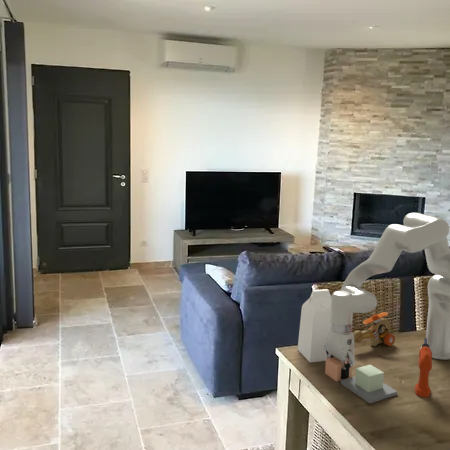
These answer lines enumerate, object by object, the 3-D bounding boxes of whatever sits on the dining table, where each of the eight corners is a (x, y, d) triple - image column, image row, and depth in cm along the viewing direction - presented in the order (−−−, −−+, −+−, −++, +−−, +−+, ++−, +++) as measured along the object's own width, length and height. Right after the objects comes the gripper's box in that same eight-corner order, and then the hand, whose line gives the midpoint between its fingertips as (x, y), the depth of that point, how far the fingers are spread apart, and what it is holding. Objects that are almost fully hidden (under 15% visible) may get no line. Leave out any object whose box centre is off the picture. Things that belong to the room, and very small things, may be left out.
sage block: (369, 379, 172) (370, 364, 171) (382, 388, 166) (384, 372, 165) (355, 383, 169) (356, 368, 168) (368, 392, 164) (369, 376, 162)
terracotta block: (339, 369, 181) (340, 355, 180) (351, 377, 176) (352, 362, 175) (325, 373, 178) (325, 358, 177) (336, 381, 173) (337, 366, 172)
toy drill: (430, 369, 179) (433, 332, 175) (430, 401, 163) (434, 361, 158) (415, 366, 181) (419, 330, 176) (414, 398, 164) (418, 358, 160)
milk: (324, 346, 201) (328, 284, 196) (338, 358, 190) (342, 293, 185) (297, 349, 198) (299, 286, 193) (310, 362, 187) (312, 296, 182)
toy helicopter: (396, 344, 203) (399, 312, 200) (360, 356, 192) (362, 322, 190) (381, 337, 210) (383, 306, 207) (345, 348, 199) (346, 315, 197)
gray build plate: (367, 376, 177) (367, 372, 177) (397, 394, 165) (397, 391, 164) (340, 383, 171) (341, 380, 171) (369, 403, 159) (369, 400, 159)
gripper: (366, 333, 168) (363, 382, 171) (333, 316, 183) (330, 361, 186) (349, 337, 164) (346, 387, 168) (316, 319, 179) (314, 365, 183)
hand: (338, 373), depth 177 cm, fingers closed on terracotta block, 6 cm apart
